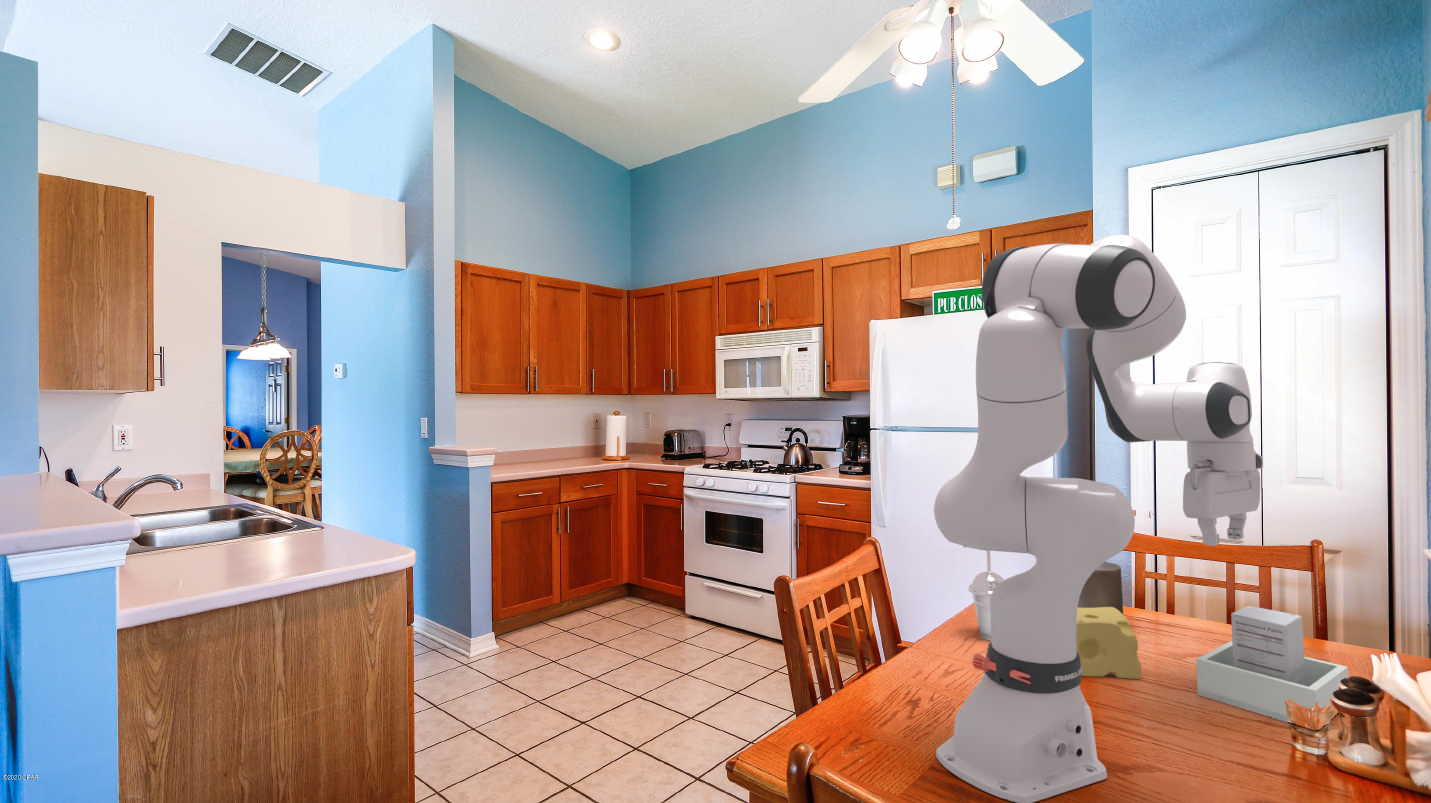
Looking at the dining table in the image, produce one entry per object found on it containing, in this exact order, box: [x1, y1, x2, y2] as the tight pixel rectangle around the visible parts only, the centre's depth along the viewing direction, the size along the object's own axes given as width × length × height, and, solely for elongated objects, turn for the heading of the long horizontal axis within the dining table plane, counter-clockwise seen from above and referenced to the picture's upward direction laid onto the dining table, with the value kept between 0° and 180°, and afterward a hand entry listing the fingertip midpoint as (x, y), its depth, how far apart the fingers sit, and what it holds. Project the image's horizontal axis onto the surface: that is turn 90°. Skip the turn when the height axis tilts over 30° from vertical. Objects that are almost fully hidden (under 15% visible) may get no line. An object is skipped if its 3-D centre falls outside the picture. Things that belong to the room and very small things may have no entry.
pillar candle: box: [1078, 561, 1124, 615], centre depth 139 cm, size 10×10×15 cm
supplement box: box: [1231, 605, 1306, 686], centre depth 103 cm, size 7×7×13 cm
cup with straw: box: [962, 545, 1005, 642], centre depth 135 cm, size 8×9×20 cm
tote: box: [1195, 640, 1349, 724], centre depth 103 cm, size 15×15×6 cm
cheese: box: [1076, 607, 1142, 680], centre depth 118 cm, size 10×11×10 cm
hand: (1223, 541), depth 106 cm, fingers open, 8 cm apart
